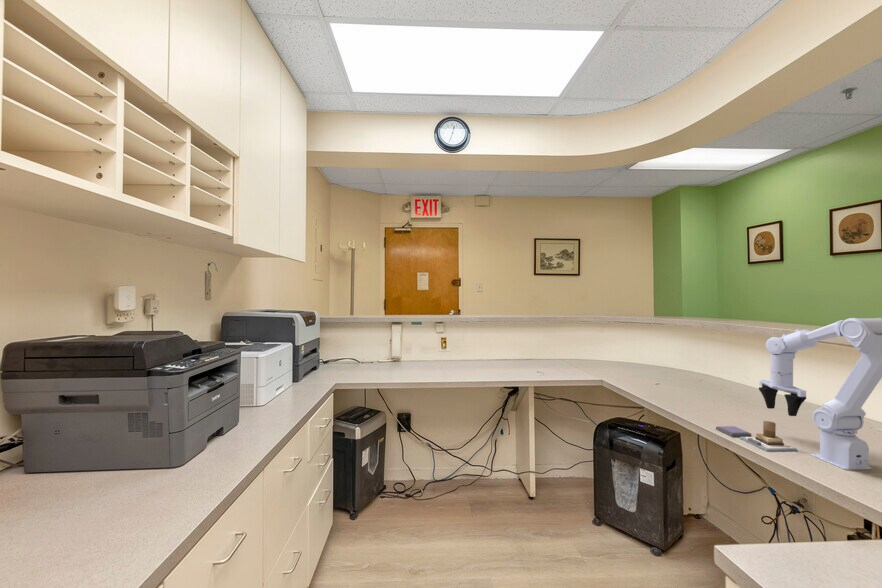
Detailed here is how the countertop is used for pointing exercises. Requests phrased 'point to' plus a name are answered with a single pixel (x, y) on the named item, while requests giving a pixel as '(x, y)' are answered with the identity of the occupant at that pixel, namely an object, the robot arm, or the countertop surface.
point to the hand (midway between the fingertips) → (781, 411)
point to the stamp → (769, 434)
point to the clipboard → (768, 447)
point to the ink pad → (733, 431)
